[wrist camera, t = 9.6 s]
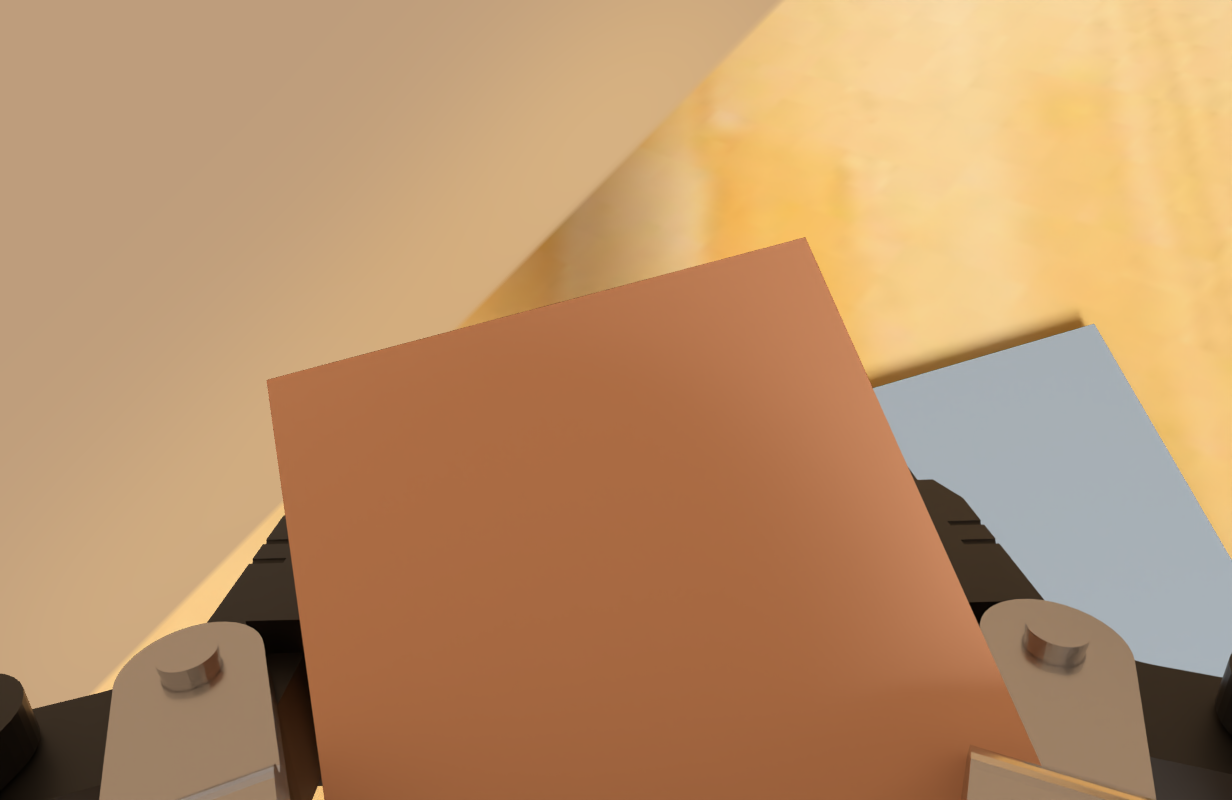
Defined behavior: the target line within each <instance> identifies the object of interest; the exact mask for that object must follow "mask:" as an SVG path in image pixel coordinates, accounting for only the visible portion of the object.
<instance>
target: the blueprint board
mask: <svg viewBox="0 0 1232 800" xmlns="http://www.w3.org/2000/svg"><path fill="white" fill-rule="evenodd" d="M873 390H874V392H875V394H876V397H877V399H878V401H879V403H880V406H881V408H882V410H883V412H884V415H885V417H886V419H887V421H888V423H889V426H890V428H891V430H892V432H893V435H894V437H895V439H896V441H897V444H898V446H899V448H900V450H901V453H902V455H903V457H904V459H905V461H906V464H907V466H908V467H909V469H910V470H911V472H912V473H913V474H914V476H915V477H916V479H917V480H928V479H933V480H935V481H936V482H938V483H940V484H941V485H943V486H945V487H946V488H948V489H949V490H951V491H953V492H954V493H956V494H958V495H959V496H961V497H962V498H964V500H965V501H966V502H967V503H968V505H969V506H970V507H971V508H972V510H973V511H974V512H975V513H976V515H977V516H978V517H979V519H980V520H981V525H985V526H986V527H987V529H988V530H989V531H990V532H991V534H992V535H993V536H994V537H995V541H996V544H997V543H999V544H1000V545H1001V546H1002V547H1003V549H1004V550H1005V551H1006V552H1007V554H1008V555H1009V556H1010V557H1011V559H1012V560H1013V561H1014V562H1015V564H1016V565H1017V566H1018V567H1019V569H1020V570H1021V571H1022V573H1023V574H1024V575H1025V576H1026V578H1027V579H1028V580H1029V581H1030V583H1031V584H1032V585H1033V586H1034V588H1035V589H1036V590H1037V591H1038V593H1039V594H1040V595H1041V596H1042V598H1043V599H1044V600H1045V601H1050V602H1055V603H1059V604H1063V605H1066V606H1069V607H1072V608H1075V609H1078V610H1080V611H1082V612H1085V613H1087V614H1089V615H1091V616H1093V617H1095V618H1096V619H1098V620H1100V621H1102V622H1103V623H1105V624H1106V625H1107V626H1109V627H1110V628H1112V629H1113V630H1114V631H1115V632H1116V633H1117V634H1119V635H1120V636H1121V637H1122V638H1123V640H1124V641H1125V642H1126V643H1127V644H1128V646H1129V648H1130V649H1131V651H1132V653H1133V656H1134V659H1135V660H1136V661H1139V662H1144V663H1148V664H1153V665H1158V666H1163V667H1168V668H1174V669H1179V670H1185V671H1190V672H1196V673H1201V674H1206V675H1212V676H1217V677H1223V675H1224V672H1225V669H1226V666H1227V663H1228V660H1229V658H1230V655H1231V654H1232V560H1231V558H1230V556H1229V555H1228V553H1227V551H1226V549H1225V548H1224V546H1223V544H1222V543H1221V541H1220V539H1219V537H1218V536H1217V534H1216V532H1215V531H1214V529H1213V527H1212V525H1211V524H1210V522H1209V520H1208V519H1207V517H1206V515H1205V513H1204V512H1203V510H1202V508H1201V507H1200V505H1199V503H1198V501H1197V500H1196V498H1195V496H1194V494H1193V493H1192V491H1191V489H1190V488H1189V486H1188V484H1187V482H1186V481H1185V479H1184V477H1183V476H1182V474H1181V472H1180V470H1179V469H1178V467H1177V465H1176V464H1175V462H1174V460H1173V458H1172V457H1171V455H1170V453H1169V452H1168V450H1167V448H1166V446H1165V445H1164V443H1163V441H1162V440H1161V438H1160V436H1159V434H1158V433H1157V431H1156V429H1155V427H1154V426H1153V424H1152V422H1151V421H1150V419H1149V417H1148V415H1147V414H1146V412H1145V410H1144V409H1143V407H1142V405H1141V403H1140V402H1139V400H1138V398H1137V397H1136V395H1135V393H1134V391H1133V390H1132V388H1131V386H1130V385H1129V383H1128V381H1127V379H1126V378H1125V376H1124V374H1123V373H1122V371H1121V369H1120V367H1119V366H1118V364H1117V362H1116V360H1115V359H1114V357H1113V355H1112V354H1111V352H1110V350H1109V348H1108V347H1107V345H1106V343H1105V342H1104V340H1103V338H1102V336H1101V335H1100V333H1099V331H1098V330H1097V328H1096V326H1095V324H1092V325H1088V326H1085V327H1081V328H1078V329H1074V330H1071V331H1068V332H1064V333H1061V334H1057V335H1054V336H1050V337H1047V338H1044V339H1040V340H1037V341H1033V342H1030V343H1026V344H1023V345H1020V346H1016V347H1013V348H1009V349H1006V350H1002V351H999V352H995V353H992V354H989V355H985V356H982V357H978V358H975V359H971V360H968V361H965V362H961V363H958V364H954V365H951V366H947V367H944V368H941V369H937V370H934V371H930V372H927V373H923V374H920V375H917V376H913V377H910V378H906V379H903V380H899V381H896V382H892V383H889V384H886V385H882V386H879V387H875V388H873Z"/></svg>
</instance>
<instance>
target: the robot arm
mask: <svg viewBox="0 0 1232 800" xmlns="http://www.w3.org/2000/svg"><path fill="white" fill-rule="evenodd" d="M908 468H909V467H908ZM909 470H910V469H909ZM910 473H911V475H912V477H913V479H914V482H915V484H916V486H917V488H918V491H919V493H920V495H921V497H922V499H923V502H924V504H925V506H926V508H927V511H928V513H929V515H930V517H931V520H932V522H933V524H934V526H935V529H936V531H937V533H938V535H939V537H940V540H941V542H942V544H943V546H944V549H945V551H946V553H947V555H948V558H949V560H950V562H951V564H952V567H953V569H954V571H955V573H956V576H957V578H958V580H959V582H960V584H961V587H962V589H963V591H964V593H965V596H966V598H967V600H968V602H969V605H970V607H971V609H972V611H973V614H974V616H975V618H976V620H977V622H978V625H979V627H980V629H981V631H982V634H983V636H984V638H985V640H986V643H987V645H988V647H989V649H990V652H991V654H992V656H993V658H994V660H995V663H996V665H997V667H998V669H999V672H1000V674H1001V676H1002V678H1003V681H1004V683H1005V685H1006V687H1007V690H1008V692H1009V694H1010V696H1011V699H1012V701H1013V703H1014V705H1015V707H1016V710H1017V712H1018V714H1019V716H1020V719H1021V721H1022V723H1023V725H1024V728H1025V730H1026V732H1027V734H1028V737H1029V739H1030V741H1031V743H1032V745H1033V748H1034V750H1035V752H1036V754H1037V757H1038V759H1039V761H1040V763H1041V766H1040V765H1036V764H1033V763H1030V762H1026V761H1023V760H1020V759H1016V758H1013V757H1010V756H1006V755H1003V754H1000V753H996V752H993V751H989V750H986V749H983V748H979V747H976V746H973V745H970V747H969V751H968V754H967V760H966V767H965V774H964V781H963V788H962V795H961V800H1232V654H1231V655H1230V658H1229V660H1228V663H1227V666H1226V669H1225V672H1224V675H1223V677H1217V676H1212V675H1206V674H1201V673H1196V672H1190V671H1185V670H1179V669H1174V668H1168V667H1163V666H1158V665H1153V664H1148V663H1144V662H1139V661H1136V660H1135V659H1134V656H1133V653H1132V651H1131V649H1130V648H1129V646H1128V644H1127V643H1126V642H1125V641H1124V640H1123V638H1122V637H1121V636H1120V635H1119V634H1117V633H1116V632H1115V631H1114V630H1113V629H1112V628H1110V627H1109V626H1107V625H1106V624H1105V623H1103V622H1102V621H1100V620H1098V619H1096V618H1095V617H1093V616H1091V615H1089V614H1087V613H1085V612H1082V611H1080V610H1078V609H1075V608H1072V607H1069V606H1066V605H1063V604H1059V603H1055V602H1050V601H1045V600H1044V599H1043V598H1042V596H1041V595H1040V594H1039V593H1038V591H1037V590H1036V589H1035V588H1034V586H1033V585H1032V584H1031V583H1030V581H1029V580H1028V579H1027V578H1026V576H1025V575H1024V574H1023V573H1022V571H1021V570H1020V569H1019V567H1018V566H1017V565H1016V564H1015V562H1014V561H1013V560H1012V559H1011V557H1010V556H1009V555H1008V554H1007V552H1006V551H1005V550H1004V549H1003V547H1002V546H1001V545H1000V544H999V543H997V544H996V541H995V537H994V536H993V535H992V534H991V532H990V531H989V530H988V529H987V527H986V526H985V525H981V520H980V519H979V517H978V516H977V515H976V513H975V512H974V511H973V510H972V508H971V507H970V506H969V505H968V503H967V502H966V501H965V500H964V498H962V497H961V496H959V495H958V494H956V493H954V492H953V491H951V490H949V489H948V488H946V487H945V486H943V485H941V484H940V483H938V482H936V481H935V480H933V479H928V480H917V479H916V477H915V476H914V474H913V473H912V472H911V470H910ZM266 541H267V543H266V544H263V545H262V547H261V548H260V549H259V551H258V552H257V554H256V555H255V556H254V558H253V564H249V565H248V566H247V568H246V569H245V570H244V572H243V573H242V575H241V576H240V577H239V579H238V580H237V582H236V583H235V584H234V586H233V587H232V589H231V590H230V591H229V593H228V594H227V596H226V597H225V598H224V600H223V601H222V603H221V604H220V605H219V607H218V608H217V610H216V611H215V612H214V614H213V615H212V617H211V618H210V619H209V621H208V622H207V623H204V624H199V625H195V626H191V627H188V628H185V629H182V630H179V631H176V632H174V633H171V634H169V635H167V636H165V637H163V638H161V639H159V640H157V641H155V642H153V643H152V644H150V645H149V646H147V647H146V648H144V649H143V650H141V651H140V652H139V653H138V654H136V655H135V656H134V657H133V658H132V659H131V660H130V661H129V662H128V663H127V664H126V665H125V666H124V667H123V669H122V670H121V671H120V672H119V674H118V676H117V678H116V680H115V682H114V686H113V689H112V690H109V691H105V692H101V693H97V694H93V695H89V696H85V697H81V698H77V699H73V700H68V701H65V702H60V703H56V704H52V705H48V706H44V707H40V708H36V709H32V708H31V706H30V703H29V701H28V699H27V696H26V694H25V691H24V689H23V687H22V685H21V683H20V682H19V681H18V680H17V679H15V678H14V677H11V676H9V675H5V674H0V800H312V799H313V796H314V794H315V791H316V789H317V786H323V784H322V777H321V770H320V763H319V755H318V748H317V741H316V734H315V726H314V719H313V712H312V705H311V697H310V690H309V683H308V676H307V669H306V661H305V654H304V647H303V640H302V632H301V625H300V618H299V611H298V603H297V596H296V589H295V582H294V575H293V567H292V560H291V553H290V546H289V538H288V531H287V524H286V517H285V516H283V517H282V519H281V520H280V521H279V523H278V524H277V526H276V527H275V528H274V530H273V531H272V533H271V534H270V535H269V537H268V538H267V540H266Z"/></svg>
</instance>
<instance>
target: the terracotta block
mask: <svg viewBox="0 0 1232 800" xmlns="http://www.w3.org/2000/svg"><path fill="white" fill-rule="evenodd" d="M267 386H268V393H269V401H270V408H271V415H272V423H273V430H274V437H275V444H276V451H277V459H278V466H279V473H280V480H281V488H282V495H283V502H284V509H285V517H286V524H287V531H288V538H289V546H290V553H291V560H292V567H293V575H294V582H295V589H296V596H297V603H298V611H299V618H300V625H301V632H302V640H303V647H304V654H305V661H306V669H307V676H308V683H309V690H310V697H311V705H312V712H313V719H314V726H315V734H316V741H317V748H318V755H319V763H320V770H321V777H322V784H323V791H324V799H325V800H961V795H962V788H963V781H964V774H965V767H966V760H967V754H968V751H969V747H970V745H973V746H976V747H979V748H983V749H986V750H989V751H993V752H996V753H1000V754H1003V755H1006V756H1010V757H1013V758H1016V759H1020V760H1023V761H1026V762H1030V763H1033V764H1036V765H1040V766H1041V763H1040V761H1039V759H1038V757H1037V754H1036V752H1035V750H1034V748H1033V745H1032V743H1031V741H1030V739H1029V737H1028V734H1027V732H1026V730H1025V728H1024V725H1023V723H1022V721H1021V719H1020V716H1019V714H1018V712H1017V710H1016V707H1015V705H1014V703H1013V701H1012V699H1011V696H1010V694H1009V692H1008V690H1007V687H1006V685H1005V683H1004V681H1003V678H1002V676H1001V674H1000V672H999V669H998V667H997V665H996V663H995V660H994V658H993V656H992V654H991V652H990V649H989V647H988V645H987V643H986V640H985V638H984V636H983V634H982V631H981V629H980V627H979V625H978V622H977V620H976V618H975V616H974V614H973V611H972V609H971V607H970V605H969V602H968V600H967V598H966V596H965V593H964V591H963V589H962V587H961V584H960V582H959V580H958V578H957V576H956V573H955V571H954V569H953V567H952V564H951V562H950V560H949V558H948V555H947V553H946V551H945V549H944V546H943V544H942V542H941V540H940V537H939V535H938V533H937V531H936V529H935V526H934V524H933V522H932V520H931V517H930V515H929V513H928V511H927V508H926V506H925V504H924V502H923V499H922V497H921V495H920V493H919V491H918V488H917V486H916V484H915V482H914V479H913V477H912V475H911V473H910V470H909V468H908V466H907V464H906V461H905V459H904V457H903V455H902V453H901V450H900V448H899V446H898V444H897V441H896V439H895V437H894V435H893V432H892V430H891V428H890V426H889V423H888V421H887V419H886V417H885V415H884V412H883V410H882V408H881V406H880V403H879V401H878V399H877V397H876V394H875V392H874V390H873V388H872V385H871V383H870V381H869V379H868V376H867V374H866V372H865V370H864V368H863V365H862V363H861V361H860V359H859V356H858V354H857V352H856V350H855V347H854V345H853V343H852V341H851V338H850V336H849V334H848V332H847V330H846V327H845V325H844V323H843V321H842V318H841V316H840V314H839V312H838V309H837V307H836V305H835V303H834V300H833V298H832V296H831V294H830V292H829V289H828V287H827V285H826V283H825V280H824V278H823V276H822V274H821V271H820V269H819V267H818V265H817V262H816V260H815V258H814V256H813V253H812V251H811V249H810V247H809V245H808V242H807V240H806V238H805V237H804V238H801V239H797V240H793V241H789V242H786V243H782V244H778V245H774V246H770V247H767V248H763V249H759V250H755V251H752V252H748V253H744V254H740V255H736V256H733V257H729V258H725V259H721V260H718V261H714V262H710V263H706V264H702V265H699V266H695V267H691V268H687V269H684V270H680V271H676V272H672V273H668V274H665V275H661V276H657V277H653V278H650V279H646V280H642V281H638V282H635V283H631V284H627V285H623V286H619V287H616V288H612V289H608V290H604V291H601V292H597V293H593V294H589V295H585V296H582V297H578V298H574V299H570V300H567V301H563V302H559V303H555V304H551V305H548V306H544V307H540V308H536V309H533V310H529V311H525V312H521V313H517V314H514V315H510V316H506V317H502V318H499V319H495V320H491V321H487V322H484V323H480V324H476V325H472V326H468V327H465V328H461V329H457V330H453V331H450V332H446V333H442V334H438V335H434V336H431V337H427V338H423V339H420V340H416V341H412V342H408V343H404V344H400V345H397V346H393V347H389V348H386V349H382V350H378V351H374V352H370V353H367V354H363V355H359V356H355V357H351V358H348V359H344V360H340V361H336V362H332V363H329V364H325V365H321V366H317V367H314V368H310V369H306V370H303V371H299V372H295V373H291V374H287V375H283V376H280V377H276V378H272V379H268V380H267Z"/></svg>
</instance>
